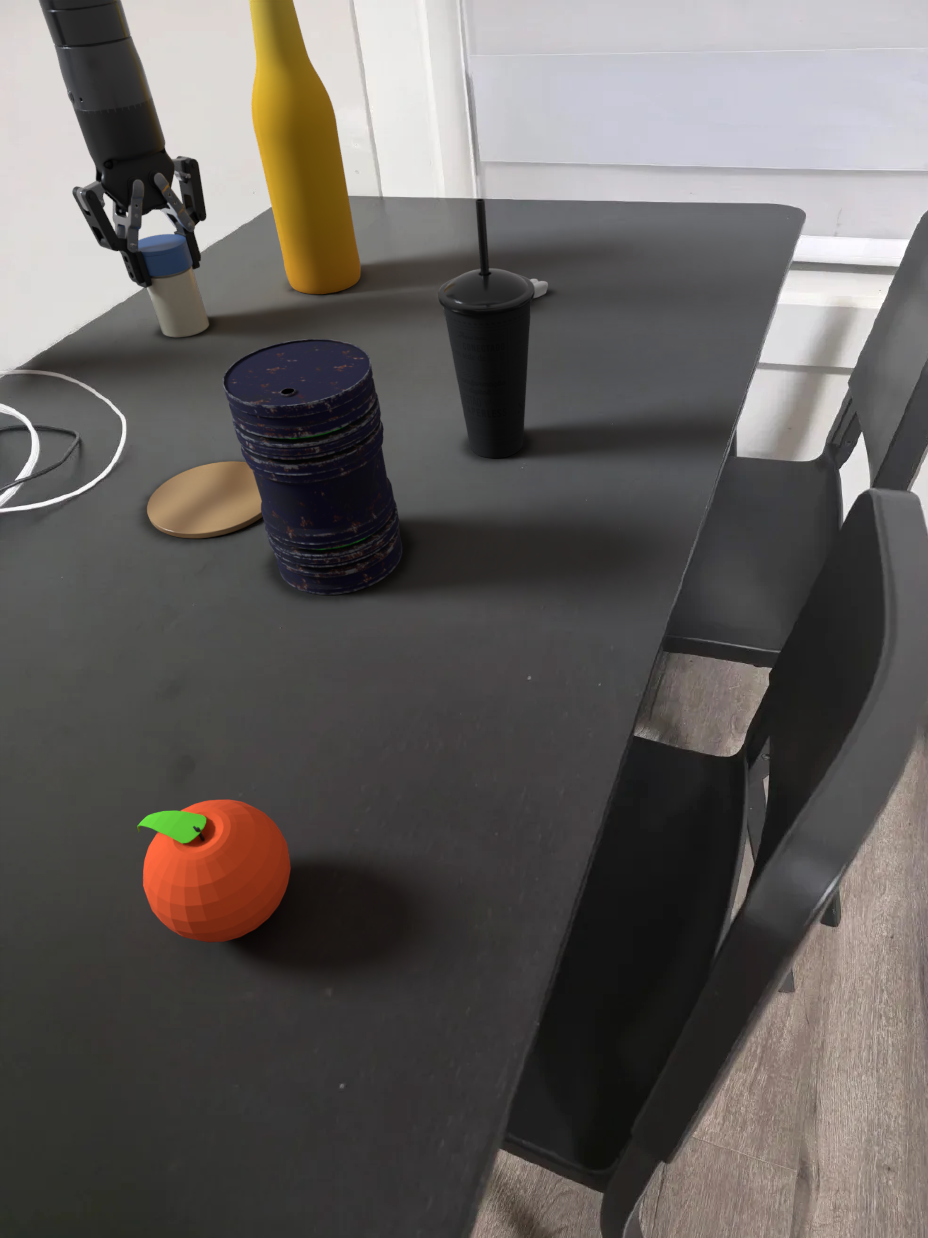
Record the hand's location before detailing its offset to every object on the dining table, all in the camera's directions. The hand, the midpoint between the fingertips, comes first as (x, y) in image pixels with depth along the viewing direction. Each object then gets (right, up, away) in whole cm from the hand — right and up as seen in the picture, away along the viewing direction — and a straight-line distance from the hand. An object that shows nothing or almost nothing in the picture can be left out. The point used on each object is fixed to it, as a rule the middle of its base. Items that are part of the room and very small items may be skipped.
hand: (169, 275), depth 94 cm
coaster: (+13, -30, -22) cm, 39 cm away
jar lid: (0, +2, -2) cm, 3 cm away
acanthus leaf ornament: (+38, -1, +5) cm, 38 cm away
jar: (0, -4, +4) cm, 6 cm away
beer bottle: (+15, +5, +12) cm, 20 cm away
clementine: (+23, -57, -50) cm, 79 cm away
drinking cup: (+37, -24, -18) cm, 48 cm away
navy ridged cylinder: (+25, -36, -29) cm, 52 cm away
